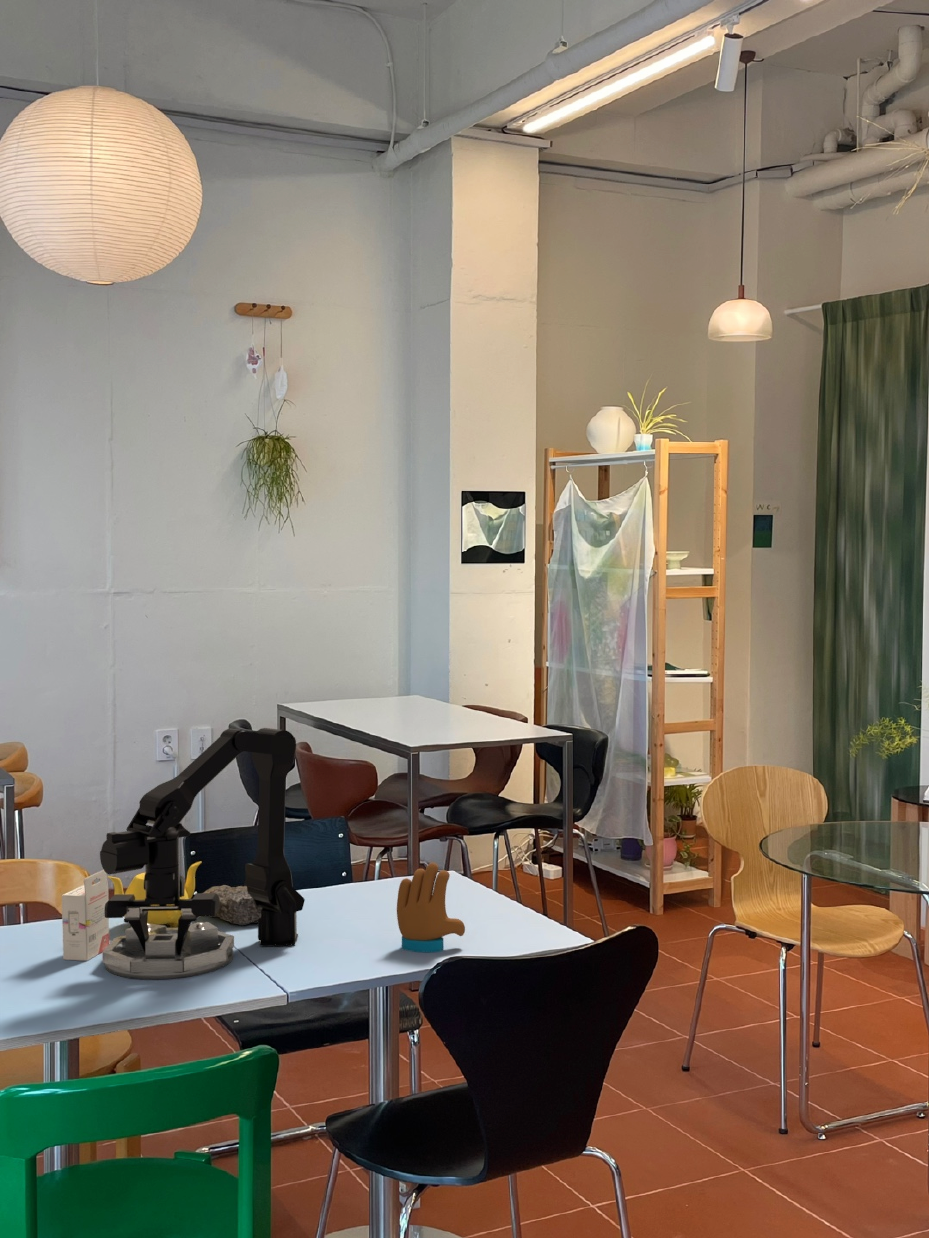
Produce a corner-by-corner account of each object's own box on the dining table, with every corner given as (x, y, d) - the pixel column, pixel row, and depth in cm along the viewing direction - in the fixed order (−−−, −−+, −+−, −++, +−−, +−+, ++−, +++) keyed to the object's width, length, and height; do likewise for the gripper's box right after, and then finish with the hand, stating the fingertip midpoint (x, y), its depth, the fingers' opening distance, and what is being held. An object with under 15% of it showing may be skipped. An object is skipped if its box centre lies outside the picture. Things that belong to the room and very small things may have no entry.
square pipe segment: (180, 956, 219) (180, 933, 219) (175, 964, 214) (174, 941, 214) (152, 956, 219) (151, 934, 219) (145, 965, 214) (145, 942, 214)
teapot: (127, 943, 233) (126, 882, 233) (93, 927, 244) (92, 869, 244) (222, 924, 246) (221, 866, 246) (185, 910, 257) (185, 854, 257)
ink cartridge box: (85, 946, 231) (84, 867, 231) (110, 948, 230) (109, 868, 230) (61, 960, 223) (60, 877, 222) (87, 961, 222) (86, 878, 221)
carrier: (241, 942, 233) (241, 911, 233) (222, 978, 211) (222, 944, 211) (122, 944, 232) (121, 912, 232) (90, 980, 210) (90, 946, 210)
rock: (285, 922, 248) (254, 908, 261) (286, 889, 248) (254, 877, 261) (226, 930, 241) (196, 916, 254) (226, 896, 241) (197, 884, 254)
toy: (467, 944, 231) (466, 863, 230) (453, 955, 224) (453, 871, 224) (406, 939, 235) (406, 859, 234) (391, 949, 228) (391, 867, 228)
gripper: (224, 854, 224) (225, 940, 225) (119, 855, 224) (120, 942, 224) (213, 868, 213) (214, 959, 213) (103, 869, 213) (104, 961, 213)
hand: (163, 954), depth 216 cm, fingers closed on square pipe segment, 5 cm apart
